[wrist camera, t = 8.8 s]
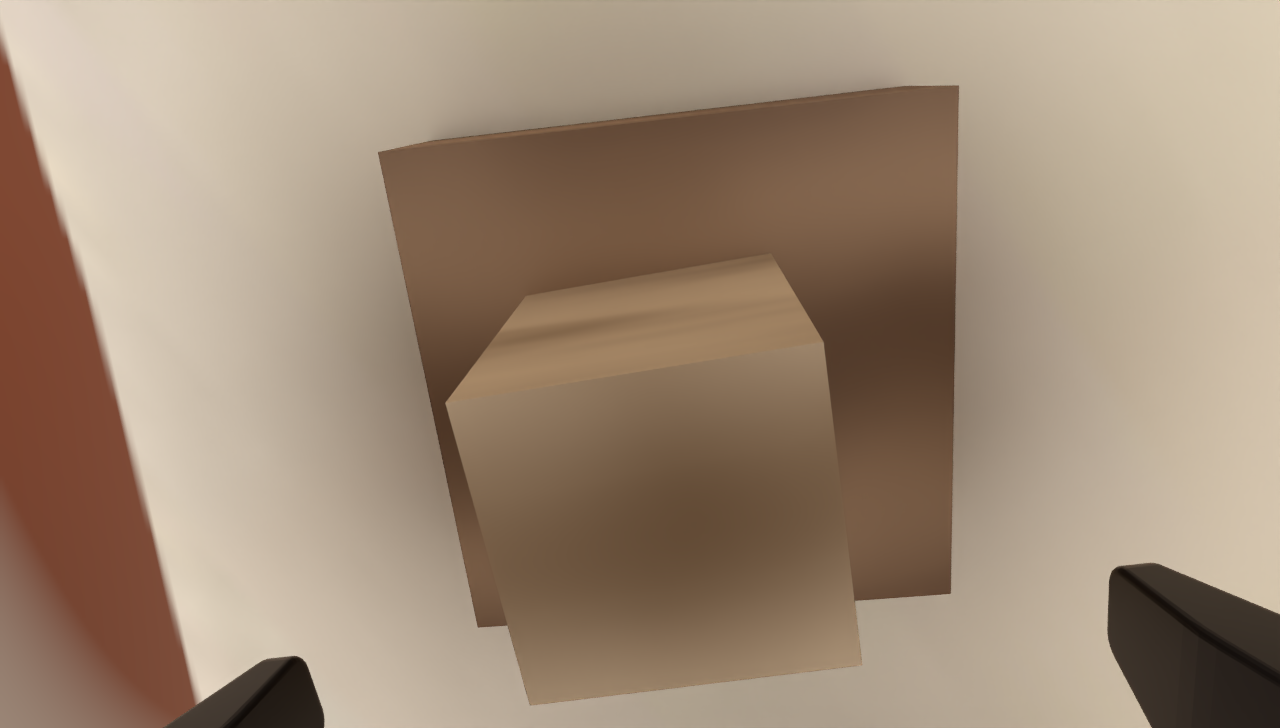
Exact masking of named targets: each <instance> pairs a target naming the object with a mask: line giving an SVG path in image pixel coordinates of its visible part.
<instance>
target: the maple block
mask: <svg viewBox="0 0 1280 728" xmlns="http://www.w3.org/2000/svg"><path fill="white" fill-rule="evenodd" d="M445 404H446V407H447V411H448V414H449V418H450V422H451V425H452V429H453V432H454V436H455V439H456V443H457V447H458V450H459V454H460V457H461V461H462V464H463V468H464V472H465V475H466V479H467V482H468V486H469V489H470V493H471V497H472V500H473V504H474V507H475V511H476V514H477V518H478V522H479V525H480V529H481V532H482V536H483V539H484V543H485V547H486V550H487V554H488V557H489V561H490V564H491V568H492V571H493V575H494V579H495V582H496V586H497V589H498V593H499V596H500V600H501V604H502V607H503V611H504V614H505V618H506V621H507V625H508V629H509V632H510V636H511V639H512V643H513V646H514V650H515V654H516V657H517V661H518V664H519V668H520V671H521V675H522V679H523V682H524V686H525V689H526V693H527V696H528V700H529V704H530V705H538V704H546V703H555V702H563V701H571V700H579V699H588V698H596V697H604V696H612V695H621V694H629V693H637V692H645V691H654V690H662V689H670V688H678V687H686V686H695V685H703V684H711V683H719V682H728V681H736V680H744V679H752V678H761V677H769V676H777V675H785V674H794V673H802V672H810V671H818V670H827V669H835V668H843V667H851V666H859V665H862V659H861V651H860V642H859V634H858V626H857V617H856V609H855V601H854V592H853V584H852V576H851V567H850V559H849V551H848V542H847V534H846V525H845V517H844V509H843V500H842V492H841V484H840V475H839V467H838V459H837V450H836V442H835V434H834V425H833V417H832V409H831V400H830V392H829V384H828V375H827V367H826V358H825V350H824V342H823V340H822V338H821V337H820V335H819V333H818V332H817V330H816V328H815V327H814V325H813V323H812V322H811V320H810V318H809V317H808V315H807V313H806V311H805V310H804V308H803V306H802V305H801V303H800V301H799V300H798V298H797V296H796V295H795V293H794V291H793V290H792V288H791V286H790V285H789V283H788V281H787V279H786V278H785V276H784V274H783V273H782V271H781V269H780V268H779V266H778V264H777V263H776V261H775V259H774V258H773V256H772V254H771V253H769V254H763V255H757V256H751V257H746V258H740V259H734V260H728V261H723V262H717V263H711V264H705V265H700V266H694V267H688V268H682V269H677V270H671V271H665V272H659V273H654V274H648V275H642V276H636V277H631V278H625V279H619V280H614V281H608V282H602V283H596V284H591V285H585V286H579V287H574V288H568V289H562V290H556V291H551V292H545V293H539V294H534V295H528V296H525V298H524V299H523V300H522V302H521V303H520V304H519V306H518V307H517V308H516V310H515V311H514V312H513V314H512V315H511V316H510V318H509V319H508V320H507V322H506V323H505V324H504V326H503V327H502V328H501V330H500V331H499V332H498V334H497V335H496V336H495V338H494V339H493V340H492V342H491V343H490V344H489V346H488V347H487V348H486V350H485V351H484V352H483V354H482V355H481V356H480V358H479V359H478V360H477V362H476V363H475V364H474V366H473V367H472V368H471V370H470V371H469V372H468V374H467V375H466V376H465V378H464V379H463V380H462V382H461V383H460V384H459V385H458V387H457V388H456V389H455V391H454V392H453V393H452V395H451V396H450V397H449V399H448V400H447V401H446V403H445Z"/></svg>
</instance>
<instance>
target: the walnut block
mask: <svg viewBox="0 0 1280 728" xmlns="http://www.w3.org/2000/svg"><path fill="white" fill-rule="evenodd" d="M958 103H959V86H902V87H893V88H885V89H876V90H867V91H859V92H850V93H841V94H833V95H824V96H816V97H807V98H798V99H790V100H781V101H772V102H764V103H755V104H746V105H738V106H729V107H720V108H712V109H703V110H694V111H686V112H677V113H668V114H660V115H651V116H642V117H634V118H625V119H616V120H608V121H599V122H590V123H582V124H573V125H564V126H556V127H547V128H538V129H530V130H521V131H513V132H504V133H495V134H487V135H478V136H469V137H461V138H452V139H443V140H435V141H428V142H424V143H419V144H414V145H410V146H405V147H401V148H396V149H391V150H387V151H382V152H378V154H379V159H380V164H381V169H382V174H383V178H384V183H385V188H386V193H387V197H388V202H389V207H390V212H391V216H392V221H393V226H394V231H395V235H396V240H397V245H398V250H399V254H400V259H401V264H402V269H403V273H404V278H405V283H406V288H407V292H408V297H409V302H410V307H411V311H412V316H413V321H414V326H415V331H416V335H417V340H418V345H419V350H420V354H421V359H422V364H423V369H424V373H425V378H426V383H427V388H428V392H429V397H430V402H431V407H432V411H433V416H434V421H435V426H436V430H437V435H438V440H439V445H440V449H441V454H442V459H443V464H444V468H445V473H446V478H447V483H448V488H449V492H450V497H451V502H452V507H453V511H454V516H455V521H456V526H457V530H458V535H459V540H460V545H461V549H462V554H463V559H464V564H465V568H466V573H467V578H468V583H469V587H470V592H471V597H472V602H473V606H474V611H475V616H476V621H477V625H478V627H492V626H506V625H507V621H506V618H505V614H504V611H503V607H502V604H501V600H500V596H499V593H498V589H497V586H496V582H495V579H494V575H493V571H492V568H491V564H490V561H489V557H488V554H487V550H486V547H485V543H484V539H483V536H482V532H481V529H480V525H479V522H478V518H477V514H476V511H475V507H474V504H473V500H472V497H471V493H470V489H469V486H468V482H467V479H466V475H465V472H464V468H463V464H462V461H461V457H460V454H459V450H458V447H457V443H456V439H455V436H454V432H453V429H452V425H451V422H450V418H449V414H448V411H447V407H446V404H445V403H446V401H447V400H448V399H449V397H450V396H451V395H452V393H453V392H454V391H455V389H456V388H457V387H458V385H459V384H460V383H461V382H462V380H463V379H464V378H465V376H466V375H467V374H468V372H469V371H470V370H471V368H472V367H473V366H474V364H475V363H476V362H477V360H478V359H479V358H480V356H481V355H482V354H483V352H484V351H485V350H486V348H487V347H488V346H489V344H490V343H491V342H492V340H493V339H494V338H495V336H496V335H497V334H498V332H499V331H500V330H501V328H502V327H503V326H504V324H505V323H506V322H507V320H508V319H509V318H510V316H511V315H512V314H513V312H514V311H515V310H516V308H517V307H518V306H519V304H520V303H521V302H522V300H523V299H524V298H525V296H528V295H534V294H539V293H545V292H551V291H556V290H562V289H568V288H574V287H579V286H585V285H591V284H596V283H602V282H608V281H614V280H619V279H625V278H631V277H636V276H642V275H648V274H654V273H659V272H665V271H671V270H677V269H682V268H688V267H694V266H700V265H705V264H711V263H717V262H723V261H728V260H734V259H740V258H746V257H751V256H757V255H763V254H769V253H771V254H772V256H773V258H774V259H775V261H776V263H777V264H778V266H779V268H780V269H781V271H782V273H783V274H784V276H785V278H786V279H787V281H788V283H789V285H790V286H791V288H792V290H793V291H794V293H795V295H796V296H797V298H798V300H799V301H800V303H801V305H802V306H803V308H804V310H805V311H806V313H807V315H808V317H809V318H810V320H811V322H812V323H813V325H814V327H815V328H816V330H817V332H818V333H819V335H820V337H821V338H822V340H823V342H824V350H825V358H826V367H827V375H828V384H829V392H830V400H831V409H832V417H833V425H834V434H835V442H836V450H837V459H838V467H839V475H840V484H841V492H842V500H843V509H844V517H845V525H846V534H847V542H848V551H849V559H850V567H851V576H852V584H853V592H854V601H857V600H871V599H885V598H899V597H913V596H927V595H941V594H951V542H952V479H953V417H954V354H955V291H956V229H957V166H958Z"/></svg>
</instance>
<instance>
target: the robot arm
mask: <svg viewBox="0 0 1280 728" xmlns="http://www.w3.org/2000/svg"><path fill="white" fill-rule="evenodd" d="M1107 630H1108V640H1109V644H1110V647H1111V650H1112V653H1113V655H1114V657H1115V659H1116V661H1117V663H1118V665H1119V667H1120V668H1121V670H1122V672H1123V674H1124V676H1125V678H1126V680H1127V682H1128V684H1129V686H1130V687H1131V689H1132V691H1133V693H1134V695H1135V697H1136V699H1137V701H1138V703H1139V704H1140V706H1141V708H1142V710H1143V712H1144V714H1145V716H1146V718H1147V720H1148V722H1149V723H1150V725H1151V727H1152V728H1280V614H1278V613H1275V612H1273V611H1270V610H1268V609H1266V608H1263V607H1261V606H1258V605H1256V604H1254V603H1251V602H1249V601H1246V600H1244V599H1242V598H1239V597H1237V596H1234V595H1232V594H1230V593H1227V592H1225V591H1222V590H1220V589H1217V588H1215V587H1213V586H1210V585H1208V584H1205V583H1203V582H1201V581H1198V580H1196V579H1193V578H1191V577H1189V576H1186V575H1184V574H1181V573H1179V572H1176V571H1174V570H1172V569H1169V568H1167V567H1164V566H1162V565H1159V564H1156V563H1144V564H1135V565H1126V566H1118V567H1116V568H1115V569H1114V570H1113V571H1112V573H1111V575H1110V580H1109V600H1108V627H1107ZM164 728H324V713H323V709H322V706H321V703H320V700H319V697H318V695H317V692H316V689H315V686H314V683H313V680H312V678H311V675H310V672H309V669H308V667H307V664H306V662H305V661H304V660H303V659H302V658H300V657H297V656H289V657H280V658H271V659H266V660H263V661H261V662H260V663H258V664H257V665H255V666H254V667H252V668H251V669H249V670H248V671H246V672H245V673H243V674H242V675H240V676H239V677H237V678H236V679H234V680H233V681H232V682H230V683H229V684H227V685H226V686H224V687H223V688H221V689H220V690H218V691H217V692H215V693H214V694H212V695H211V696H209V697H208V698H206V699H205V700H204V701H202V702H201V703H199V704H198V705H196V706H195V707H193V708H192V709H190V710H189V711H187V712H186V713H184V714H183V715H181V716H180V717H178V718H177V719H175V720H174V721H173V722H171V723H170V724H168V725H167V726H165V727H164Z"/></svg>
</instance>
